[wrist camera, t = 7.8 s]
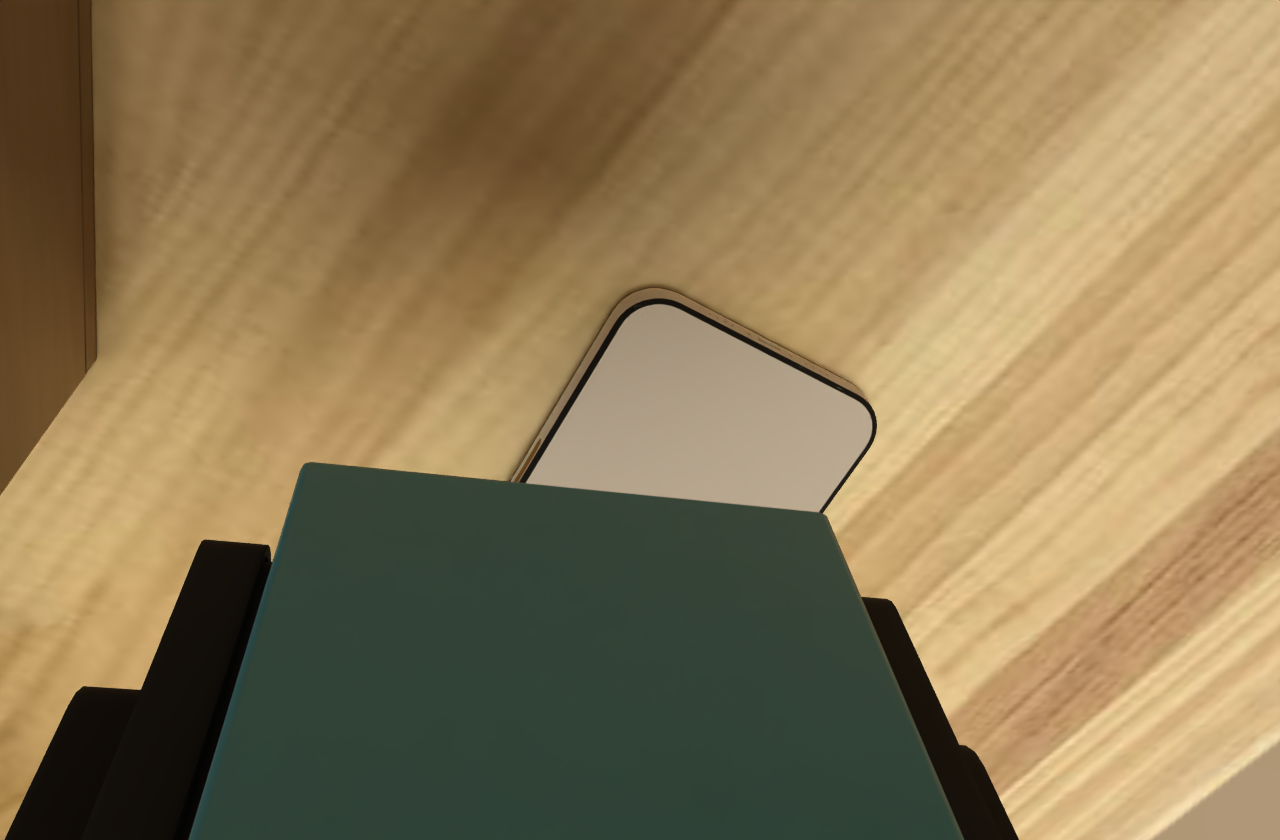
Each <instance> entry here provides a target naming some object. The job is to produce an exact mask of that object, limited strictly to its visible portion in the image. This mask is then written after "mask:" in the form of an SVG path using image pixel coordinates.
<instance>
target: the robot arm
mask: <svg viewBox="0 0 1280 840" xmlns="http://www.w3.org/2000/svg"><path fill="white" fill-rule="evenodd" d="M271 565H272V562H271V552H270V547H269V545H262V544H251V543H239V542H228V541H216V540H203V541H202V542H201V544H200V546H199V548H198V550H197V552H196V555H195V557H194V560H193V562H192V565H191V567H190V570H189V572H188V575H187V577H186V580H185V582H184V585H183V587H182V590H181V592H180V595H179V597H178V599H177V602H176V604H175V607H174V609H173V612H172V614H171V617H170V619H169V622H168V624H167V627H166V629H165V632H164V634H163V637H162V639H161V642H160V644H159V647H158V649H157V652H156V654H155V656H154V659H153V661H152V664H151V666H150V669H149V671H148V674H147V676H146V679H145V681H144V684H143V686H142V689H141V690H131V689H116V688H101V687H86V686H83V687H82V688H81V689H80V690H78V691H77V692H76V693H75V695H74V697H73V698H72V700H71V702H70V704H69V705H68V707H67V709H66V711H65V713H64V716H63V718H62V720H61V722H60V724H59V726H58V728H57V730H56V732H55V734H54V737H53V739H52V741H51V743H50V745H49V747H48V749H47V751H46V753H45V756H44V758H43V760H42V762H41V764H40V766H39V768H38V770H37V772H36V774H35V777H34V779H33V781H32V783H31V785H30V787H29V789H28V791H27V793H26V796H25V798H24V800H23V802H22V804H21V806H20V808H19V810H18V812H17V814H16V817H15V819H14V821H13V823H12V825H11V827H10V829H9V831H8V833H7V836H6V838H5V840H189V836H190V833H191V830H192V826H193V823H194V820H195V816H196V813H197V810H198V807H199V803H200V800H201V797H202V793H203V790H204V787H205V783H206V780H207V777H208V774H209V770H210V767H211V764H212V760H213V757H214V754H215V750H216V747H217V744H218V740H219V737H220V734H221V731H222V727H223V724H224V721H225V717H226V714H227V711H228V707H229V704H230V701H231V698H232V694H233V691H234V688H235V684H236V681H237V678H238V674H239V671H240V668H241V664H242V661H243V658H244V655H245V651H246V648H247V645H248V641H249V638H250V635H251V631H252V628H253V625H254V622H255V618H256V615H257V612H258V608H259V605H260V602H261V598H262V595H263V592H264V588H265V585H266V582H267V579H268V575H269V572H270V569H271ZM861 598H862V600H863V603H864V605H865V607H866V610H867V612H868V614H869V617H870V619H871V621H872V624H873V626H874V628H875V631H876V633H877V636H878V638H879V640H880V643H881V645H882V647H883V650H884V652H885V654H886V657H887V659H888V661H889V664H890V666H891V668H892V671H893V673H894V676H895V678H896V680H897V683H898V685H899V687H900V690H901V692H902V694H903V697H904V699H905V701H906V704H907V706H908V708H909V711H910V713H911V716H912V718H913V720H914V723H915V725H916V727H917V730H918V732H919V734H920V737H921V739H922V741H923V744H924V746H925V748H926V751H927V753H928V756H929V758H930V760H931V763H932V765H933V767H934V770H935V772H936V774H937V777H938V779H939V781H940V784H941V786H942V788H943V791H944V793H945V796H946V798H947V800H948V803H949V805H950V807H951V810H952V812H953V814H954V817H955V819H956V821H957V824H958V826H959V828H960V831H961V833H962V836H963V838H964V840H1019V839H1018V837H1017V835H1016V832H1015V830H1014V828H1013V826H1012V824H1011V822H1010V820H1009V818H1008V816H1007V813H1006V811H1005V809H1004V807H1003V805H1002V803H1001V801H1000V799H999V797H998V795H997V792H996V790H995V788H994V786H993V784H992V782H991V780H990V778H989V776H988V773H987V771H986V769H985V767H984V765H983V764H982V762H981V760H980V759H979V757H978V756H977V754H976V753H975V752H974V751H973V750H971V749H970V748H968V747H967V746H965V745H959V744H958V741H957V739H956V737H955V735H954V733H953V730H952V728H951V726H950V724H949V722H948V720H947V717H946V715H945V713H944V711H943V709H942V707H941V704H940V702H939V700H938V698H937V696H936V694H935V691H934V689H933V687H932V685H931V683H930V680H929V678H928V676H927V674H926V672H925V670H924V667H923V665H922V663H921V661H920V659H919V657H918V654H917V652H916V650H915V648H914V646H913V643H912V641H911V639H910V637H909V635H908V633H907V630H906V628H905V626H904V624H903V622H902V620H901V617H900V615H899V613H898V611H897V609H896V607H895V606H894V604H893V603H892V601H890V600H888V599H880V598H869V597H861Z"/></svg>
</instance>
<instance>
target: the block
mask: <svg viewBox="0 0 1280 840" xmlns="http://www.w3.org/2000/svg"><path fill="white" fill-rule="evenodd" d="M189 840H964V838H963V836H962V833H961V831H960V828H959V826H958V824H957V821H956V819H955V817H954V814H953V812H952V810H951V807H950V805H949V803H948V800H947V798H946V796H945V793H944V791H943V788H942V786H941V784H940V781H939V779H938V777H937V774H936V772H935V770H934V767H933V765H932V763H931V760H930V758H929V756H928V753H927V751H926V748H925V746H924V744H923V741H922V739H921V737H920V734H919V732H918V730H917V727H916V725H915V723H914V720H913V718H912V716H911V713H910V711H909V708H908V706H907V704H906V701H905V699H904V697H903V694H902V692H901V690H900V687H899V685H898V683H897V680H896V678H895V676H894V673H893V671H892V668H891V666H890V664H889V661H888V659H887V657H886V654H885V652H884V650H883V647H882V645H881V643H880V640H879V638H878V636H877V633H876V631H875V628H874V626H873V624H872V621H871V619H870V617H869V614H868V612H867V610H866V607H865V605H864V603H863V600H862V598H861V596H860V593H859V591H858V588H857V586H856V584H855V581H854V579H853V577H852V574H851V572H850V570H849V567H848V565H847V563H846V560H845V558H844V556H843V553H842V551H841V549H840V546H839V544H838V541H837V539H836V537H835V534H834V532H833V530H832V527H831V525H830V523H829V520H828V518H827V516H826V515H824V514H822V513H820V512H812V511H802V510H792V509H782V508H772V507H761V506H751V505H741V504H731V503H721V502H711V501H701V500H691V499H681V498H670V497H660V496H650V495H640V494H630V493H620V492H610V491H600V490H589V489H579V488H569V487H559V486H549V485H539V484H529V483H519V482H508V481H498V480H488V479H478V478H468V477H458V476H448V475H438V474H427V473H417V472H407V471H397V470H387V469H377V468H367V467H357V466H346V465H336V464H326V463H316V462H310V463H305V464H304V465H303V467H302V468H301V470H300V473H299V476H298V479H297V483H296V486H295V489H294V493H293V496H292V499H291V503H290V506H289V509H288V512H287V516H286V519H285V522H284V526H283V529H282V532H281V536H280V539H279V542H278V546H277V549H276V552H275V555H274V559H273V562H272V565H271V569H270V572H269V575H268V579H267V582H266V585H265V588H264V592H263V595H262V598H261V602H260V605H259V608H258V612H257V615H256V618H255V622H254V625H253V628H252V631H251V635H250V638H249V641H248V645H247V648H246V651H245V655H244V658H243V661H242V664H241V668H240V671H239V674H238V678H237V681H236V684H235V688H234V691H233V694H232V698H231V701H230V704H229V707H228V711H227V714H226V717H225V721H224V724H223V727H222V731H221V734H220V737H219V740H218V744H217V747H216V750H215V754H214V757H213V760H212V764H211V767H210V770H209V774H208V777H207V780H206V783H205V787H204V790H203V793H202V797H201V800H200V803H199V807H198V810H197V813H196V816H195V820H194V823H193V826H192V830H191V833H190V836H189Z"/></svg>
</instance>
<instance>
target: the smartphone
mask: <svg viewBox="0 0 1280 840" xmlns="http://www.w3.org/2000/svg"><path fill="white" fill-rule="evenodd" d="M876 429H877V421H876V416H875V413H874V410H873V409H872V407H871V405H870V404H869V402H868V401H867V399H866V398H865V396H864V395H863V393H862V392H861V391H860V390H859V389H858V388H857V387H855V386H854V385H853V384H851V383H850V382H848V381H846V380H844V379H842V378H840V377H838V376H836V375H835V374H833V373H831V372H829V371H827V370H825V369H823V368H821V367H819V366H817V365H815V364H813V363H811V362H810V361H808V360H806V359H804V358H802V357H800V356H798V355H796V354H794V353H792V352H790V351H788V350H786V349H784V348H783V347H781V346H779V345H777V344H775V343H773V342H771V341H769V340H767V339H765V338H763V337H761V336H759V335H758V334H756V333H754V332H752V331H750V330H748V329H746V328H744V327H742V326H740V325H738V324H736V323H734V322H733V321H731V320H729V319H727V318H725V317H723V316H721V315H719V314H717V313H715V312H713V311H711V310H709V309H708V308H706V307H704V306H702V305H700V304H698V303H696V302H694V301H692V300H690V299H688V298H686V297H684V296H683V295H681V294H679V293H676V292H673V291H670V290H666V289H660V288H648V289H643V290H640V291H637V292H634V293H632V294H630V295H629V296H627V297H626V298H624V299H623V300H622V301H621V302H620V303H619V304H618V305H617V306H616V308H615V309H614V310H613V312H612V313H611V315H610V316H609V318H608V320H607V321H606V323H605V325H604V326H603V328H602V330H601V331H600V333H599V335H598V336H597V338H596V340H595V341H594V343H593V345H592V346H591V348H590V350H589V351H588V353H587V355H586V356H585V358H584V360H583V361H582V363H581V365H580V366H579V368H578V370H577V371H576V373H575V375H574V376H573V378H572V380H571V381H570V383H569V385H568V386H567V388H566V390H565V391H564V393H563V395H562V396H561V398H560V400H559V401H558V403H557V405H556V406H555V408H554V410H553V411H552V413H551V415H550V416H549V418H548V420H547V421H546V423H545V425H544V426H543V428H542V430H541V431H540V433H539V435H538V436H537V438H536V440H535V441H534V443H533V445H532V447H531V448H530V450H529V452H528V453H527V455H526V457H525V458H524V460H523V462H522V463H521V465H520V467H519V468H518V470H517V472H516V473H515V475H514V477H513V478H512V480H511V482H519V483H529V484H539V485H549V486H559V487H569V488H579V489H589V490H600V491H610V492H620V493H630V494H640V495H650V496H660V497H670V498H681V499H691V500H701V501H711V502H721V503H731V504H741V505H751V506H761V507H772V508H782V509H792V510H802V511H812V512H820V513H823V512H824V511H825V509H826V508H827V507H828V505H829V504H830V502H831V501H832V500H833V498H834V497H835V495H836V494H837V493H838V491H839V490H840V488H841V487H842V486H843V484H844V483H845V482H846V480H847V479H848V477H849V476H850V475H851V473H852V472H853V470H854V469H855V468H856V466H857V465H858V464H859V462H860V461H861V459H862V458H863V457H864V455H865V454H866V452H867V451H868V450H869V448H870V446H871V445H872V443H873V441H874V438H875V435H876Z"/></svg>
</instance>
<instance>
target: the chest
mask: <svg viewBox="0 0 1280 840" xmlns="http://www.w3.org/2000/svg"><path fill="white" fill-rule="evenodd" d="M95 360H96V317H95V257H94V197H93V138H92V78H91V18H90V0H0V495H1V494H2V492H3V491H4V489H5V488H6V487H7V485H8V484H9V482H10V481H11V480H12V478H13V477H14V475H15V474H16V473H17V471H18V470H19V468H20V467H21V465H22V464H23V463H24V461H25V460H26V458H27V457H28V456H29V454H30V453H31V451H32V450H33V448H34V447H35V446H36V444H37V443H38V441H39V440H40V439H41V437H42V436H43V434H44V433H45V432H46V430H47V429H48V427H49V426H50V424H51V423H52V422H53V420H54V419H55V417H56V416H57V415H58V413H59V412H60V410H61V409H62V407H63V406H64V405H65V403H66V402H67V400H68V399H69V398H70V396H71V395H72V393H73V392H74V391H75V389H76V388H77V386H78V385H79V383H80V382H81V381H82V379H83V378H84V376H85V374H86V373H87V372H88V370H89V369H90V368H91V366H92V365H93V363H94V362H95Z"/></svg>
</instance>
